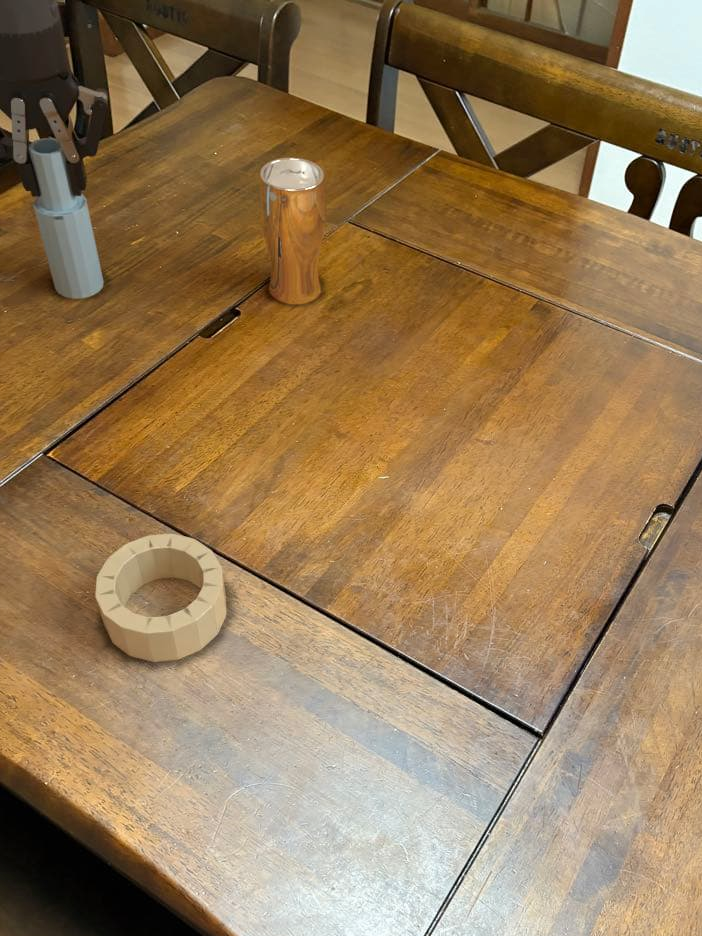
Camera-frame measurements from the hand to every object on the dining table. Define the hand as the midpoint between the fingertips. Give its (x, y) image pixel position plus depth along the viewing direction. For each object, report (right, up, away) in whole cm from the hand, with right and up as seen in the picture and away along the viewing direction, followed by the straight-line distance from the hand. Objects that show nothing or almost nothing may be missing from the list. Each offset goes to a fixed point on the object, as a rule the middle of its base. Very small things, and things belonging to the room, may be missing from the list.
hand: (57, 191), depth 94 cm
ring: (+16, -42, -18) cm, 49 cm away
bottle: (-1, -8, +9) cm, 12 cm away
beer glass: (+23, -8, +12) cm, 27 cm away
